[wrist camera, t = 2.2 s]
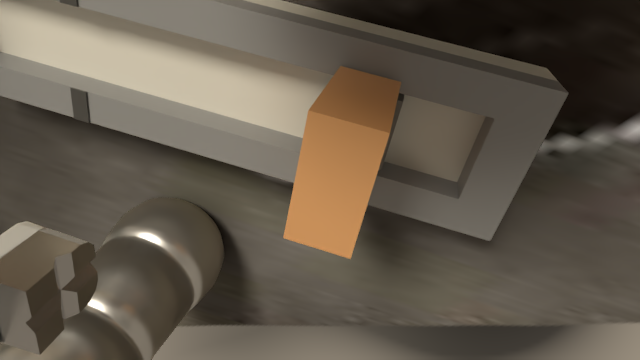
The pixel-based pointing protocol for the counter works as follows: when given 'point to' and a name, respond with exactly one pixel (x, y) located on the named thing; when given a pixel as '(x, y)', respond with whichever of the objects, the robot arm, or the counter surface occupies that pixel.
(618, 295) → the counter surface
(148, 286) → the silver ridged bottle
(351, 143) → the fader knob
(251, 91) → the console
